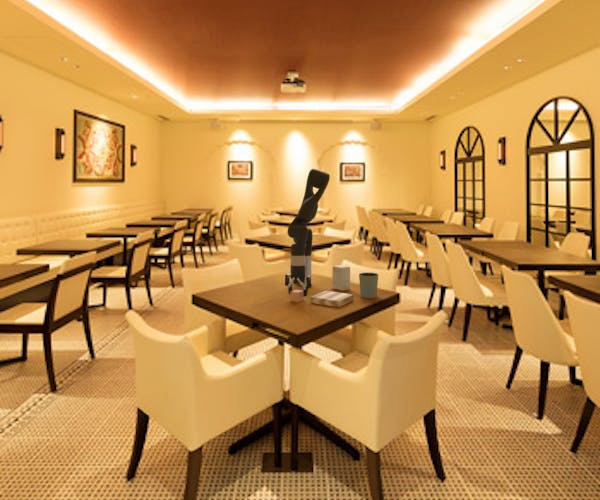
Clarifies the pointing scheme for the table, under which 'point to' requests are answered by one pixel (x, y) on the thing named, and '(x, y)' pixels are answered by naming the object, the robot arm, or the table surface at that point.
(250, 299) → the table surface
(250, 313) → the table surface
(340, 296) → the maple base
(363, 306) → the table surface
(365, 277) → the grey cylindrical piece
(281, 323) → the table surface
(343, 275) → the small box
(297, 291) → the terracotta cube
